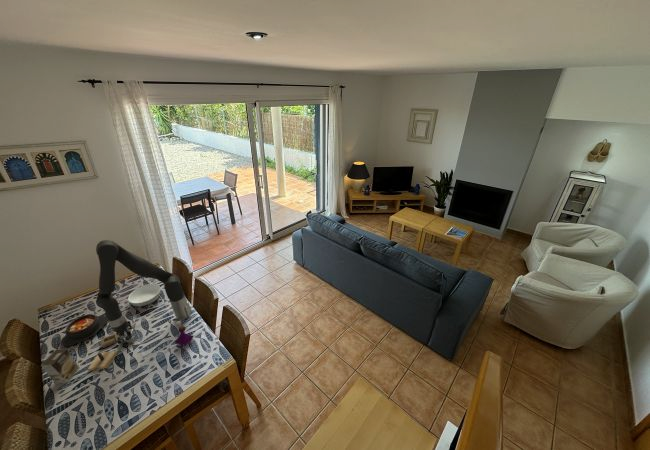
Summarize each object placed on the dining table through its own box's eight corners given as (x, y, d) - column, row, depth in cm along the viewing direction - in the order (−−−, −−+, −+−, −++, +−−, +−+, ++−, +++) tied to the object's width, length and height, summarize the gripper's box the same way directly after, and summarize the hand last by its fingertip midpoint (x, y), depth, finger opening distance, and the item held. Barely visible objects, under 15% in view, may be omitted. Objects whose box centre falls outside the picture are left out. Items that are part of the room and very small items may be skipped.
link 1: (118, 335, 168) (117, 332, 166) (118, 341, 164) (117, 338, 162) (103, 341, 164) (101, 338, 162) (103, 347, 160) (101, 344, 158)
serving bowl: (155, 286, 209) (152, 280, 206) (168, 297, 198) (165, 290, 195) (126, 302, 194) (123, 295, 191) (138, 314, 183) (135, 307, 180)
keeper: (117, 352, 157) (113, 345, 154) (108, 367, 148) (103, 360, 145) (99, 354, 156) (94, 347, 153) (89, 370, 147) (84, 363, 144)
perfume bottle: (194, 339, 165) (187, 319, 157) (185, 349, 159) (177, 329, 150) (185, 336, 167) (178, 316, 159) (176, 345, 161) (167, 325, 153)
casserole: (101, 313, 184) (96, 305, 180) (115, 323, 176) (110, 315, 172) (56, 340, 165) (49, 331, 161) (70, 353, 157) (63, 343, 153)
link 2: (137, 337, 167) (135, 334, 165) (133, 344, 162) (131, 341, 161) (123, 339, 165) (122, 335, 164) (119, 346, 161) (117, 343, 159)
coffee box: (67, 383, 141) (52, 364, 133) (55, 384, 140) (39, 365, 133) (80, 367, 149) (67, 348, 141) (68, 367, 148) (54, 349, 141)
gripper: (118, 330, 150) (129, 349, 158) (130, 312, 162) (139, 330, 170) (104, 332, 149) (115, 351, 157) (117, 313, 161) (127, 332, 169)
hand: (128, 340), depth 163 cm, fingers closed on link 2, 5 cm apart
